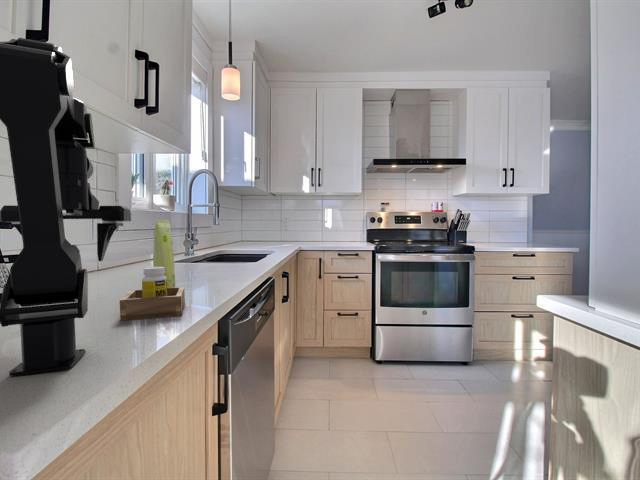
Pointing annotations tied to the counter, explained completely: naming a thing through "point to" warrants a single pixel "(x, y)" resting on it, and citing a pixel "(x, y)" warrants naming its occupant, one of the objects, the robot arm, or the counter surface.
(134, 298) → the walnut box
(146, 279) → the supplement bottle
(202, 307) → the counter surface
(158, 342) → the counter surface
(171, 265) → the tube
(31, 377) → the counter surface
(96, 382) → the counter surface
